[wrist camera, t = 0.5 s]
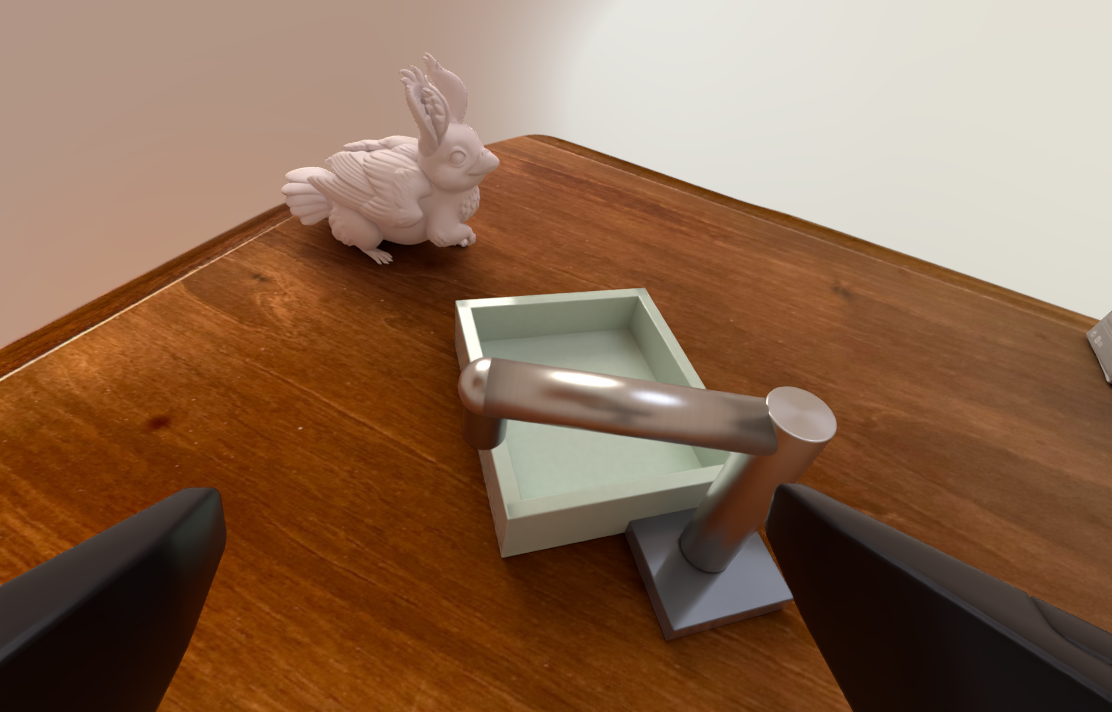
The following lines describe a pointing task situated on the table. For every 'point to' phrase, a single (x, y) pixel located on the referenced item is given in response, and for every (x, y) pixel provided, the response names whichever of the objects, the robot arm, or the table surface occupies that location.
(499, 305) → the sink
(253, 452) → the table surface
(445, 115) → the figurine
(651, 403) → the faucet
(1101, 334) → the cosmetic box
